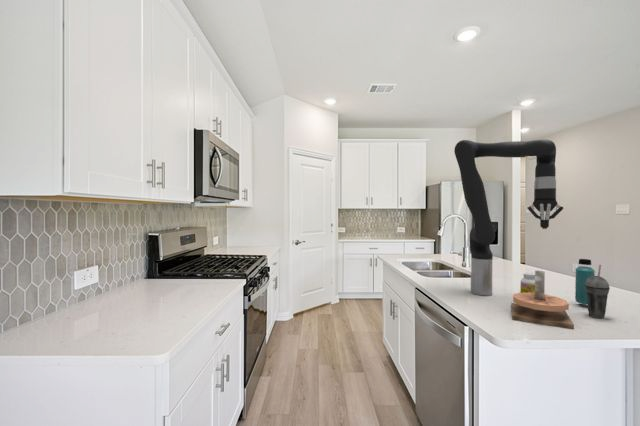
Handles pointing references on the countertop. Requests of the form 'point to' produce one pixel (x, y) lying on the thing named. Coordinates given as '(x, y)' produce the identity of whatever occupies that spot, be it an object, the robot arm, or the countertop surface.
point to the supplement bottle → (528, 283)
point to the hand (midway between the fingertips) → (544, 228)
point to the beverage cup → (597, 295)
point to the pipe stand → (539, 315)
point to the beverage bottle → (583, 280)
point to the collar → (540, 302)
